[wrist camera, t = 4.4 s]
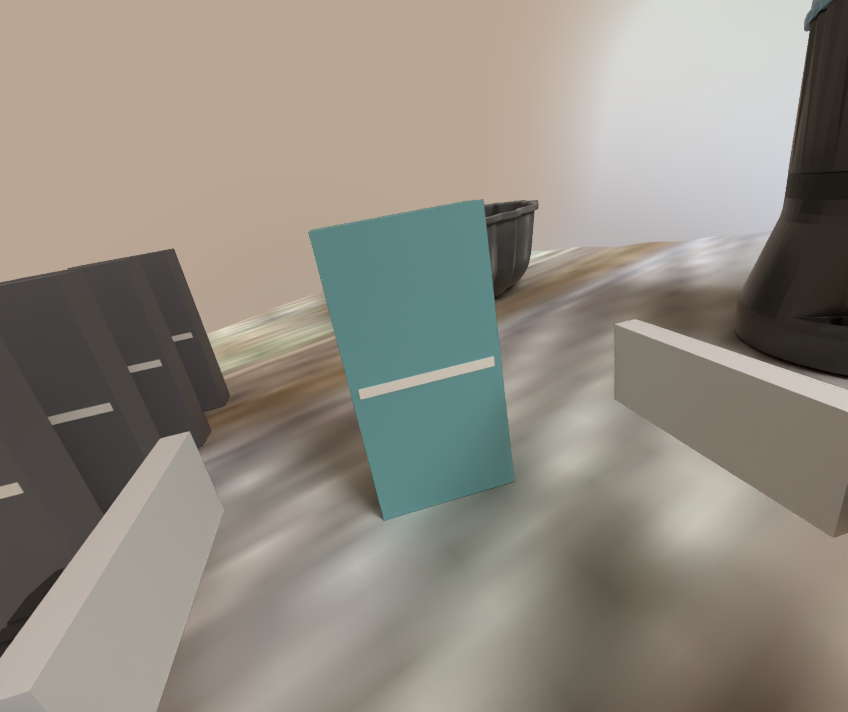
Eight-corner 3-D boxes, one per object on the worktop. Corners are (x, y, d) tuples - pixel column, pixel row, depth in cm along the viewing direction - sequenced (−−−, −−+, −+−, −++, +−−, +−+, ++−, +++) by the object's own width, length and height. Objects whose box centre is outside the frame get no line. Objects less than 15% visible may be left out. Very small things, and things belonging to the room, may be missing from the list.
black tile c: (211, 430, 28) (138, 256, 24) (202, 446, 26) (122, 260, 22) (118, 453, 27) (25, 277, 23) (102, 472, 26) (-2, 283, 21)
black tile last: (230, 395, 34) (174, 248, 30) (224, 406, 32) (163, 250, 28) (153, 413, 33) (84, 265, 29) (142, 425, 31) (66, 268, 27)
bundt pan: (515, 328, 38) (505, 215, 34) (301, 330, 50) (276, 247, 46) (560, 266, 59) (556, 192, 56) (402, 278, 71) (391, 219, 68)
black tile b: (182, 483, 23) (81, 269, 18) (169, 508, 21) (53, 275, 17) (65, 514, 22) (-69, 297, 18) (39, 543, 20) (-118, 307, 16)
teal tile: (496, 456, 20) (465, 201, 16) (514, 482, 18) (483, 199, 14) (378, 490, 19) (310, 229, 15) (384, 521, 17) (308, 232, 13)
